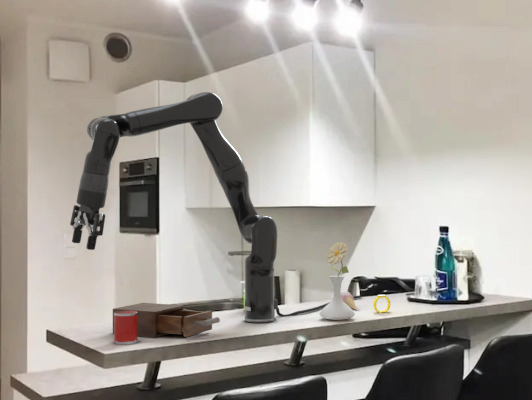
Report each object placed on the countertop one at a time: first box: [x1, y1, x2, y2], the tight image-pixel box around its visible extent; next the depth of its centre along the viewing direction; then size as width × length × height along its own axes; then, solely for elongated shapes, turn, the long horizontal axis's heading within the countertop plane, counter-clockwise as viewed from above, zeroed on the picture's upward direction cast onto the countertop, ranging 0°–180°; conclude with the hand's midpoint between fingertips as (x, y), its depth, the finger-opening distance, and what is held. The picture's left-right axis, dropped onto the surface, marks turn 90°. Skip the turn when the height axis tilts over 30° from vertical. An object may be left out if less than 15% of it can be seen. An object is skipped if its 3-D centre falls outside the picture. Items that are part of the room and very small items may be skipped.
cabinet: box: [112, 302, 185, 339], centre depth 204 cm, size 15×14×7 cm
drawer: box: [156, 309, 221, 338], centre depth 199 cm, size 18×12×5 cm
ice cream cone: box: [341, 290, 358, 311], centre depth 253 cm, size 5×5×15 cm
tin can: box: [113, 311, 139, 345], centre depth 189 cm, size 6×6×8 cm
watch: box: [373, 294, 392, 314], centre depth 241 cm, size 6×3×6 cm, turn 115°
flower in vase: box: [319, 241, 356, 321], centre depth 226 cm, size 13×11×25 cm
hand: (83, 246), depth 197 cm, fingers open, 8 cm apart
